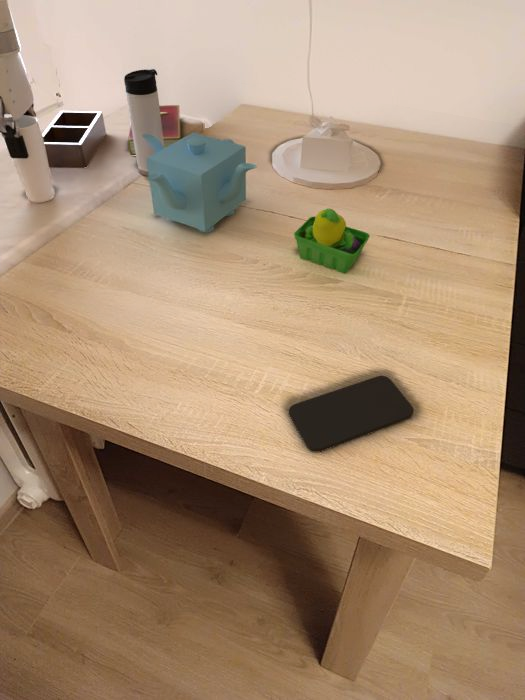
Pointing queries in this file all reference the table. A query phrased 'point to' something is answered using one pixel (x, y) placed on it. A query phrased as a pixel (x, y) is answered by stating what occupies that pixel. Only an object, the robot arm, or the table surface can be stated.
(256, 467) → the table surface
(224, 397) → the table surface
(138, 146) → the travel mug
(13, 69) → the robot arm
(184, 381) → the table surface
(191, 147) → the teakettle
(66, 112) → the cup holder
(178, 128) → the hardcover book
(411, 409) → the phone
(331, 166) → the dish
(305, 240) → the fruit basket
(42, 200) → the drinking glass
